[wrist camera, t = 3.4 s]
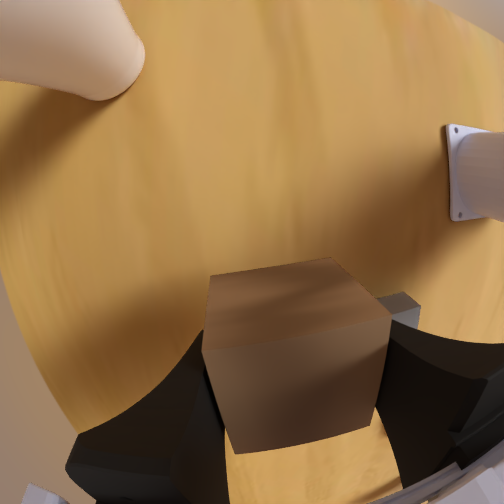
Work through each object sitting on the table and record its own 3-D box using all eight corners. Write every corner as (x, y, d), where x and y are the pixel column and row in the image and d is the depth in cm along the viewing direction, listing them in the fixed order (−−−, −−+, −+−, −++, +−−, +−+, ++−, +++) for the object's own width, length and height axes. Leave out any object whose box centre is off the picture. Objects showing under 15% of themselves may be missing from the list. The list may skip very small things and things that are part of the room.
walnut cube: (330, 257, 11) (392, 314, 7) (330, 352, 13) (369, 425, 8) (210, 275, 11) (201, 350, 6) (230, 369, 13) (235, 454, 8)
